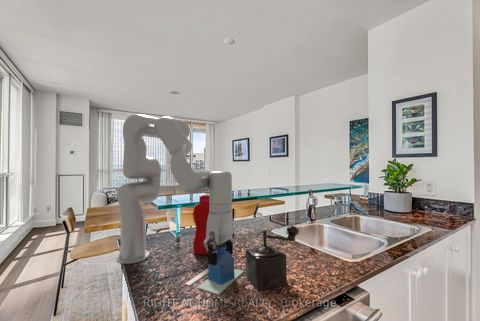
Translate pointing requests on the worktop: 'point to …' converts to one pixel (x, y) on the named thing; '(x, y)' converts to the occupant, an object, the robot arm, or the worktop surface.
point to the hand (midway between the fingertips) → (220, 258)
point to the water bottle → (201, 224)
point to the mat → (216, 288)
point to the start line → (197, 277)
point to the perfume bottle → (222, 266)
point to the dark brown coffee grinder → (268, 263)
